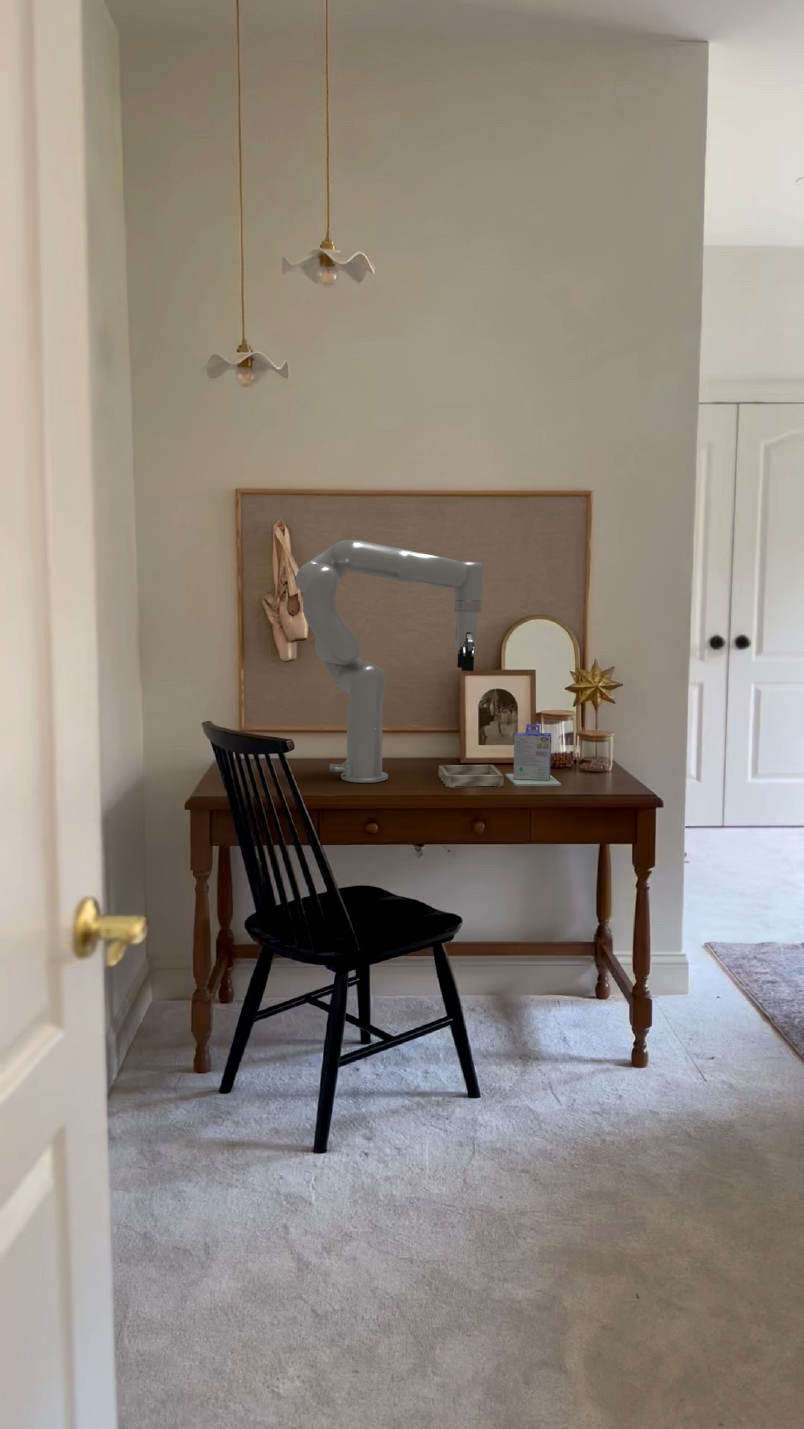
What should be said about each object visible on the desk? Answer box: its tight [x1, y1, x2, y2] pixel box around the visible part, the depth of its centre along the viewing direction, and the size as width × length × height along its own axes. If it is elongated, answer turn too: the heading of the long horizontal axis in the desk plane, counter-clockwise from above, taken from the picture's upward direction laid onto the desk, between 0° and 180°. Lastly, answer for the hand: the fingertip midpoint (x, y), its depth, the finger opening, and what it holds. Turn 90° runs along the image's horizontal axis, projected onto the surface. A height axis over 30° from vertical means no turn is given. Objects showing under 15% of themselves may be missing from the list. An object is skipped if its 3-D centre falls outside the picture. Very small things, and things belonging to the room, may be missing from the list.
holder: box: [438, 764, 504, 788], centre depth 293 cm, size 15×15×3 cm
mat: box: [505, 773, 562, 787], centre depth 295 cm, size 12×14×1 cm
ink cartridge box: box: [512, 723, 552, 780], centre depth 294 cm, size 10×6×14 cm, turn 82°
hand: (465, 669), depth 303 cm, fingers open, 9 cm apart
